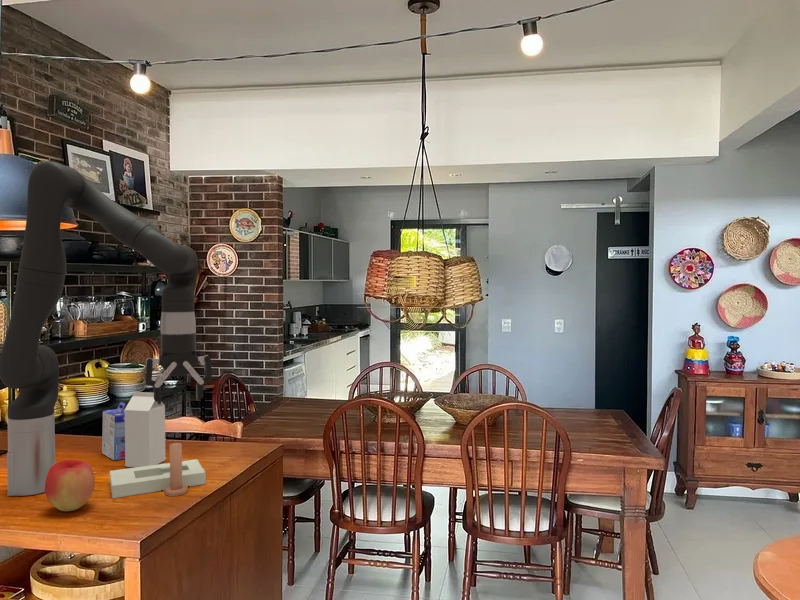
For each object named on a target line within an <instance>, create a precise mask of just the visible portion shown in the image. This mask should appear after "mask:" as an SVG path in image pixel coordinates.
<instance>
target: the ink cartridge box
mask: <svg viewBox="0 0 800 600" xmlns="http://www.w3.org/2000/svg"><path fill="white" fill-rule="evenodd" d="M126 404H127V403H125V402H122V401H120V403H119V404H118V406H117V408H116V409H107V410H103V411H102V434H101V435H102V436H101V438H102V439H101V441H102V442H101V454H103V455H105V456H106V457H107V458H110V459H111V460H112V461H117V460H118V461H119V460H123V459H124V460H125V408H126V406H127V405H126ZM121 406H122V407H121Z"/></svg>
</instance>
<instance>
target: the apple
mask: <svg viewBox="0 0 800 600" xmlns="http://www.w3.org/2000/svg"><path fill="white" fill-rule="evenodd" d="M95 479H96V478H95V473H94V470H93V468H92V466H91V465H90V464H89V463H87V462H86V461H81V460H76V459H67V460H61V461H58V462H55V464H54V465H53V466H51V468H50V469H49V471H48V474H47V478H46V482H45V492H44V493H45V497H46V499H47V502H48V503H50V504H51V505H52V506H53V507H54V508H56V509H57V510H58V511H61V512H73V511H76V510H78V509H80V508H81V507H83V506H84V505H86V503H87V502H88V501H89V500H90V498H91V496H92V495H93V492H94V490H95V484H96V483H95V482H96V481H95Z"/></svg>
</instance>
